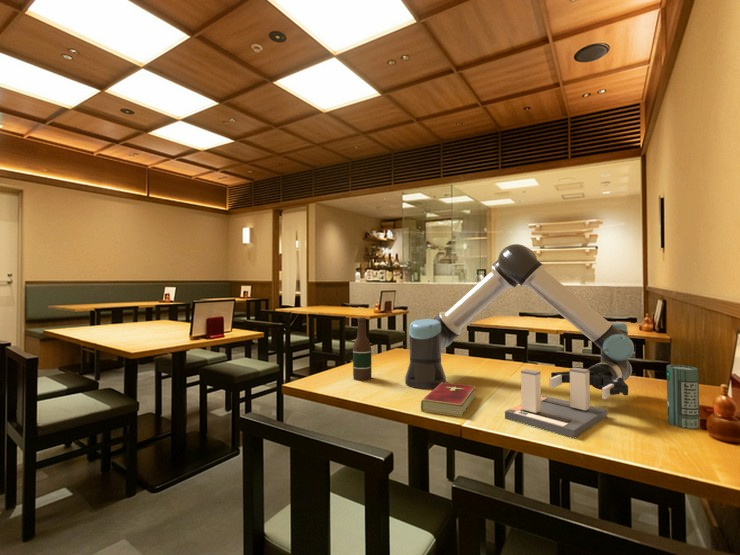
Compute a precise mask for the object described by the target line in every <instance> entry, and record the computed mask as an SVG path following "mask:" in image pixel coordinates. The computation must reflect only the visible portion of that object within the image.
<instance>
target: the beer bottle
mask: <svg viewBox="0 0 740 555" xmlns="http://www.w3.org/2000/svg"><path fill="white" fill-rule="evenodd" d="M356 321H357V334H356V338H355V340H354V342H353V345H352V346H353V347H352V375H353V377H352V378H353V380H355V379H356V380H355V381H368V380H371V379H372V347H371V346H372V345H371V342H370V340H369V338H368V337H367V335H368V334H367V323H366V321H367V318H366V317H363V316H362V317H361V316H359V317H357V320H356Z"/></svg>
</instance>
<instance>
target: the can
mask: <svg viewBox="0 0 740 555" xmlns="http://www.w3.org/2000/svg"><path fill="white" fill-rule="evenodd" d="M699 378H700V377H699V368H697V367H694V366H689V365H683V364H667V365H666V394H667V395H666V398H667V399H666V401H667V403H666V404H667V412H666V413H667V424H669V425H671V426H673V427H677V428H680V429H686V430H699V429H700V428H701V427H700V388H699V386H700V385H699V384H700V383H699V382H700V381H699Z"/></svg>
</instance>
